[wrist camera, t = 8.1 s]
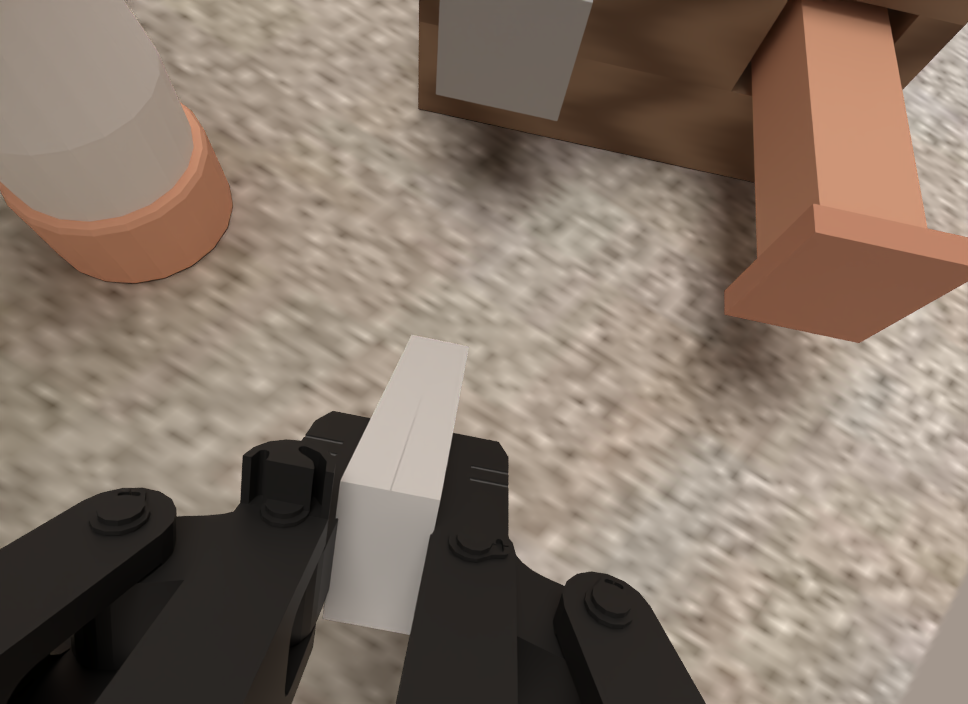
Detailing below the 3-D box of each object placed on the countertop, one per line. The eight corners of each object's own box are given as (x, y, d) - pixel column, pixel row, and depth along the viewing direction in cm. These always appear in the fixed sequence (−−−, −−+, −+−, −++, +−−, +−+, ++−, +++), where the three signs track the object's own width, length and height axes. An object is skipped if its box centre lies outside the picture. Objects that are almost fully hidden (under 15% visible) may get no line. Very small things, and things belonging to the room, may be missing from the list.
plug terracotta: (724, 314, 20) (815, 232, 16) (723, 47, 26) (790, -71, 21) (859, 343, 20) (987, 269, 16) (829, 71, 26) (917, -41, 21)
